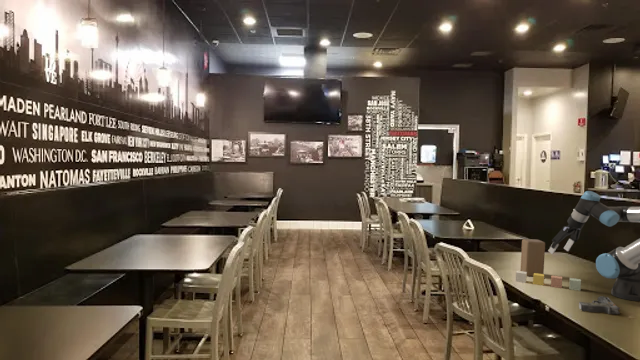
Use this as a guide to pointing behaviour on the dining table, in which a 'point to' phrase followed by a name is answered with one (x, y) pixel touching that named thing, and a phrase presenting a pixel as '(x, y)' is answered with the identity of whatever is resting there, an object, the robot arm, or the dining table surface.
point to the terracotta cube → (556, 281)
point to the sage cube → (575, 284)
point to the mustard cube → (538, 279)
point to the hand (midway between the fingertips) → (558, 251)
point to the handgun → (600, 306)
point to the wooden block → (532, 256)
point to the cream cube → (521, 276)
